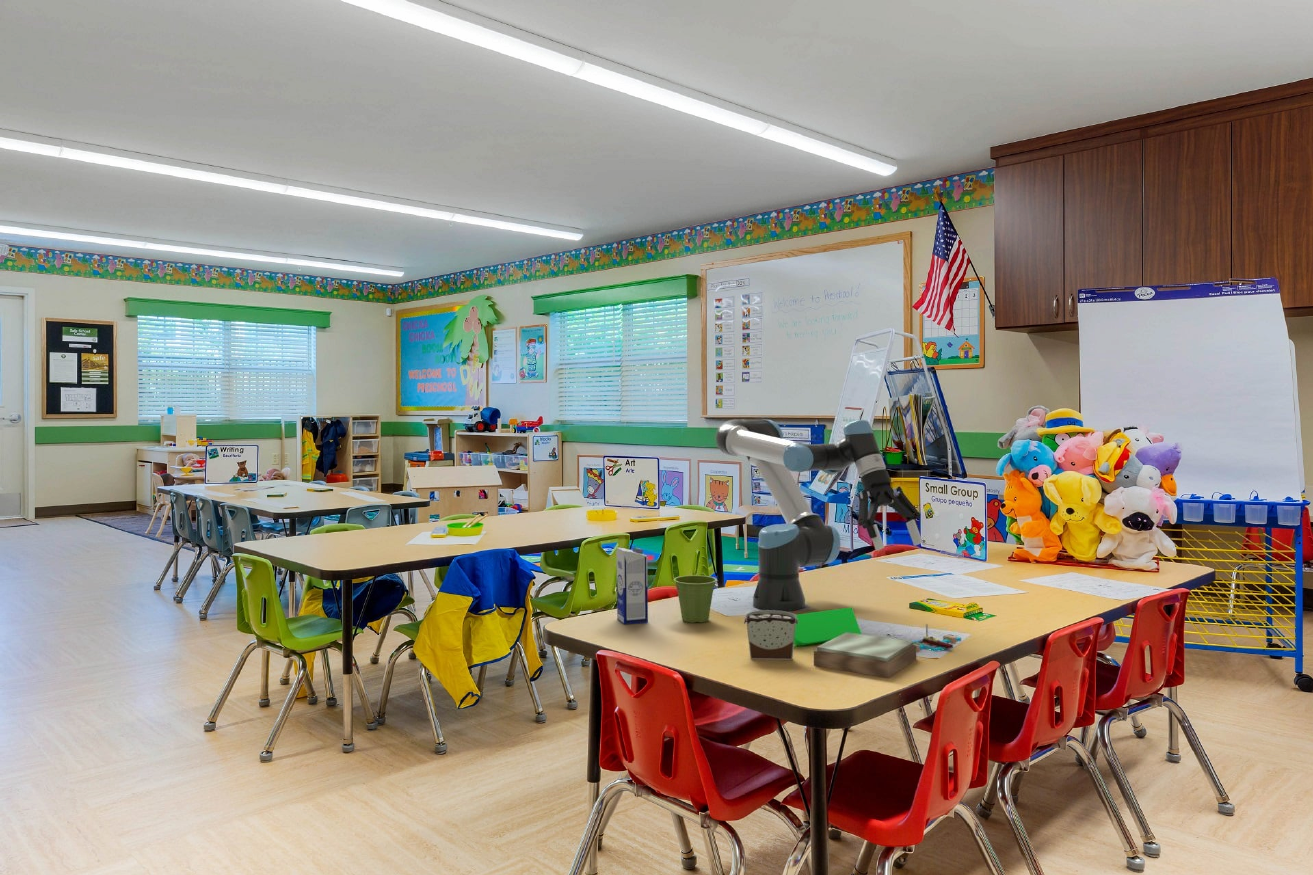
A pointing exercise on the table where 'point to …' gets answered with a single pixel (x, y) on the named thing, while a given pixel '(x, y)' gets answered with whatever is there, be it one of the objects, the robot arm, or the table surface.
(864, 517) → the robot arm
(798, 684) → the table surface
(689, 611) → the plant pot
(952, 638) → the toy boat
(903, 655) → the stand
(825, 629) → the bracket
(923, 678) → the table surface
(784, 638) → the food container
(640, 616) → the milk carton
